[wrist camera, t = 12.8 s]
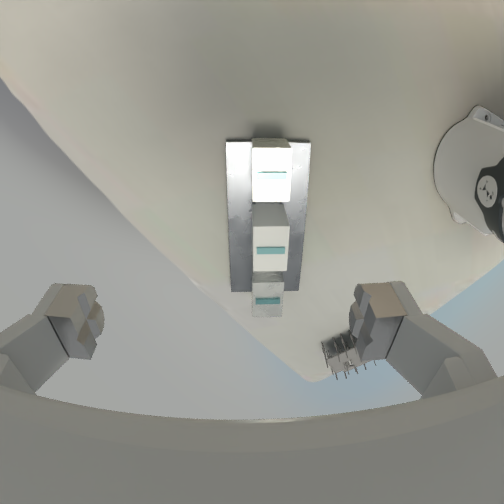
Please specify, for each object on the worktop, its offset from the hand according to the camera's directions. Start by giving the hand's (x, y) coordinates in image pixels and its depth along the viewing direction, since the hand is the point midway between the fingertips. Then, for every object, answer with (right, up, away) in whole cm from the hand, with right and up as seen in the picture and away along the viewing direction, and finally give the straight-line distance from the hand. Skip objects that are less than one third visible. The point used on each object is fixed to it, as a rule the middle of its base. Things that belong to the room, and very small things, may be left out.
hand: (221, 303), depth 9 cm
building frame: (+18, -15, +47) cm, 53 cm away
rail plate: (+3, +6, +33) cm, 34 cm away
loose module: (+3, +5, +32) cm, 33 cm away
